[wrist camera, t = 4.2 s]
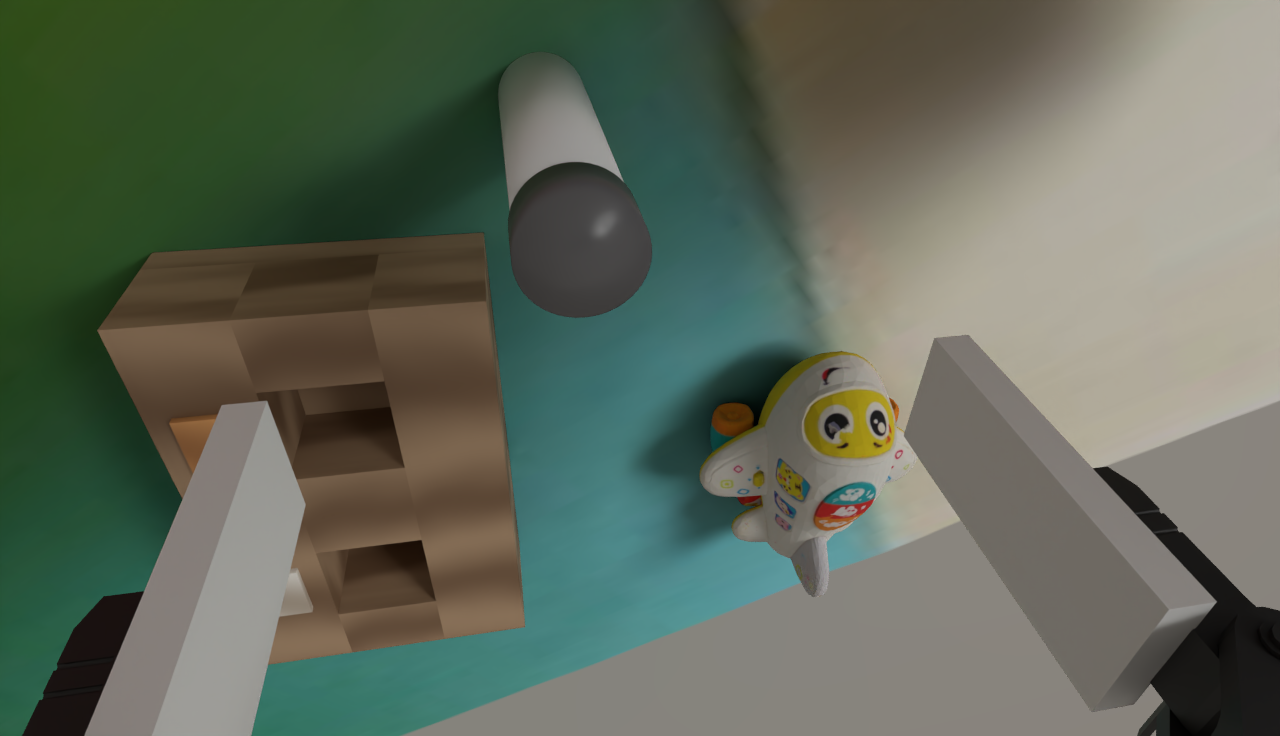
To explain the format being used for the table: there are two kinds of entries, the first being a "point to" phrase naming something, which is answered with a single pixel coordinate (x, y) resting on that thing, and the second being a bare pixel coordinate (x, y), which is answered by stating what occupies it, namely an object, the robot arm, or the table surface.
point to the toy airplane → (808, 458)
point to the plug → (566, 194)
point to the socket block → (346, 422)
